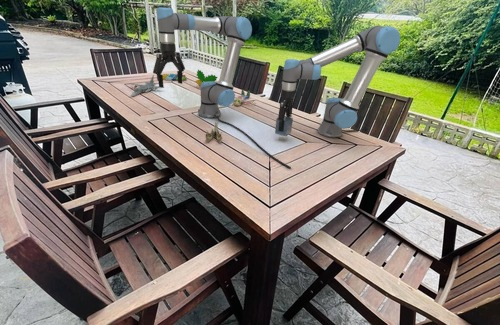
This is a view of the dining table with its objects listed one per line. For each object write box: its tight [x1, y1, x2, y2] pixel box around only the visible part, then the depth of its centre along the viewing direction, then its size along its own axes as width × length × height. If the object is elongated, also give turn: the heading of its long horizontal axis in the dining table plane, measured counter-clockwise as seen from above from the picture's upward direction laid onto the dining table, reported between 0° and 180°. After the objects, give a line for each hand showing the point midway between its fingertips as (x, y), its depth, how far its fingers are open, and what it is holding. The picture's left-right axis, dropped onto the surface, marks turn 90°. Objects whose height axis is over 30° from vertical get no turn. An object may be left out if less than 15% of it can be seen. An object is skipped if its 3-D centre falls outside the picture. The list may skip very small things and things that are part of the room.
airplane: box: [130, 74, 162, 97], centre depth 228 cm, size 38×32×10 cm
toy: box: [232, 89, 257, 106], centre depth 219 cm, size 28×7×30 cm
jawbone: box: [205, 121, 223, 144], centre depth 149 cm, size 9×15×10 cm
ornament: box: [194, 69, 218, 87], centre depth 252 cm, size 21×8×15 cm, turn 105°
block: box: [274, 115, 294, 137], centre depth 152 cm, size 7×7×10 cm
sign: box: [162, 73, 187, 82], centre depth 282 cm, size 26×2×30 cm
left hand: (171, 85), depth 143 cm, fingers open, 13 cm apart
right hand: (283, 129), depth 153 cm, fingers closed on block, 7 cm apart
